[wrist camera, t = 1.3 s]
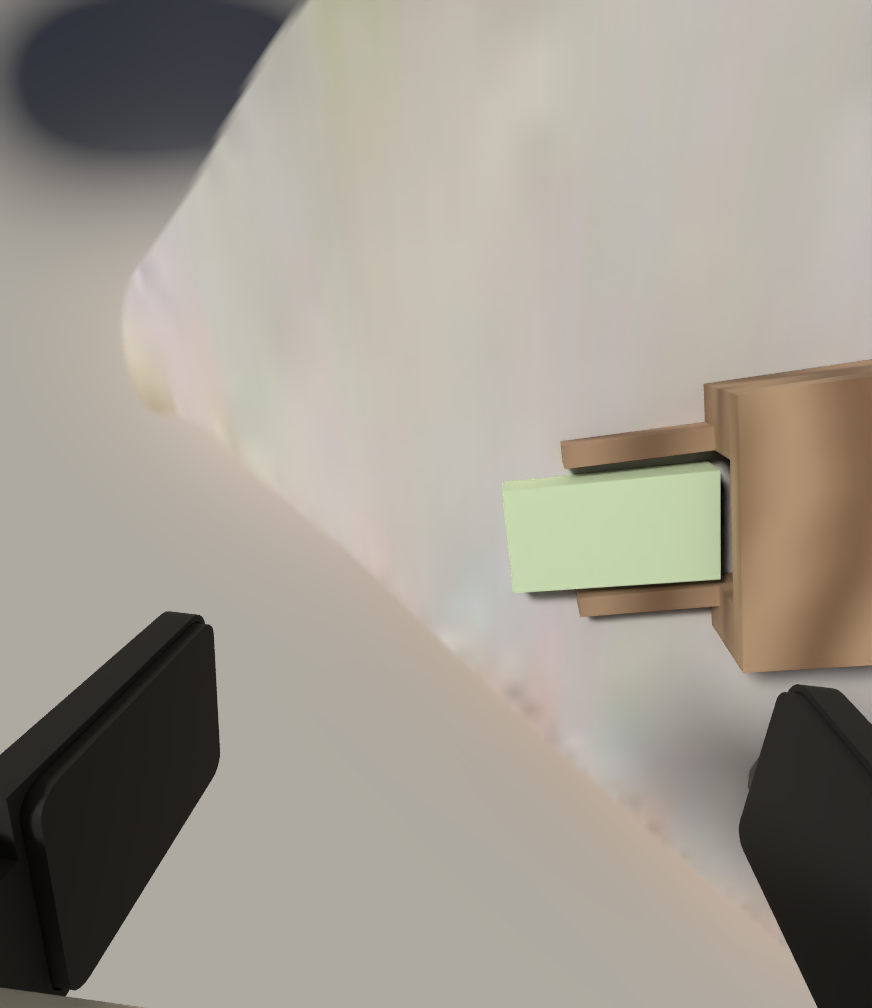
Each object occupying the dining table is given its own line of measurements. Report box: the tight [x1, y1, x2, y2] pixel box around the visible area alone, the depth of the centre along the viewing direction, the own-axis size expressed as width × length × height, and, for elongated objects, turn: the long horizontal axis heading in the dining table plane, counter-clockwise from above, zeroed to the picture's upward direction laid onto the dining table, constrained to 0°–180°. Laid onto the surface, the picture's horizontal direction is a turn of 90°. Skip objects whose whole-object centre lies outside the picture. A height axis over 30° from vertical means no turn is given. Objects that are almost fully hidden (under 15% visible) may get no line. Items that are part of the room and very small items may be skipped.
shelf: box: [561, 360, 872, 673], centre depth 29 cm, size 16×14×5 cm
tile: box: [502, 461, 721, 593], centre depth 32 cm, size 11×6×2 cm, turn 98°
